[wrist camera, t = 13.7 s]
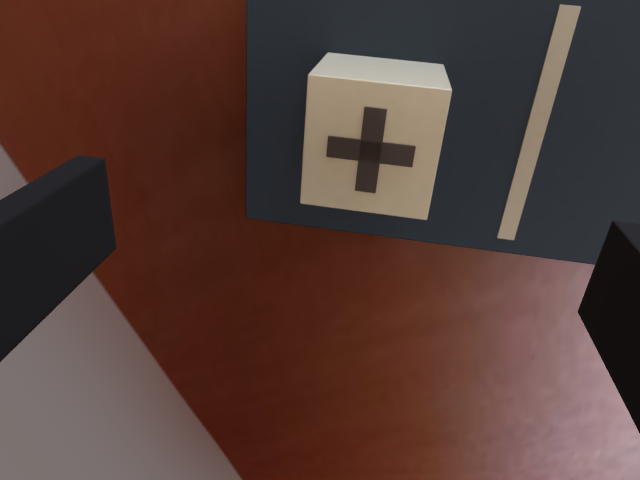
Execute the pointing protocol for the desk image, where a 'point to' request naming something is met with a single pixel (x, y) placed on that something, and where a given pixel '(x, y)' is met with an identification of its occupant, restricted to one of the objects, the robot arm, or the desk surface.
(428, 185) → the plus sign block
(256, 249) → the desk surface
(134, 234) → the desk surface
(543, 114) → the mat
